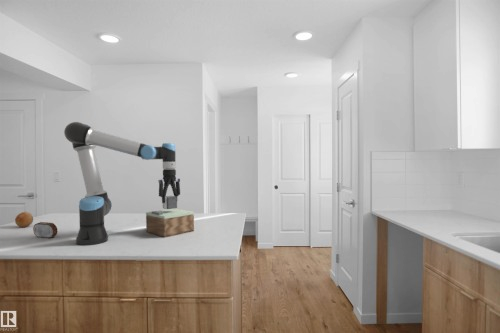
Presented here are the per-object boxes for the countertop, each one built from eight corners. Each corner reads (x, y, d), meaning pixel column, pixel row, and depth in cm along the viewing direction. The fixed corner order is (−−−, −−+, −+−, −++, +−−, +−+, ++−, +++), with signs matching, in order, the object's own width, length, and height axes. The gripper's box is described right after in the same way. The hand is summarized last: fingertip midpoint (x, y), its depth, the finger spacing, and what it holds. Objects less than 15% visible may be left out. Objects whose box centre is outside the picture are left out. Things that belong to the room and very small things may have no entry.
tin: (58, 237, 175) (57, 222, 175) (53, 238, 172) (52, 223, 172) (37, 236, 179) (37, 221, 179) (32, 237, 176) (31, 222, 176)
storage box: (164, 237, 172) (164, 219, 172) (146, 232, 186) (146, 215, 186) (193, 231, 187) (193, 214, 187) (175, 226, 201) (174, 211, 200)
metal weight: (168, 209, 182) (168, 197, 182) (162, 208, 186) (162, 196, 186) (177, 208, 186) (176, 196, 186) (171, 207, 190) (171, 195, 190)
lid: (164, 219, 172) (164, 214, 172) (145, 215, 186) (145, 210, 186) (193, 214, 187) (193, 209, 187) (174, 210, 200) (174, 206, 200)
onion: (17, 226, 207) (16, 211, 207) (34, 224, 212) (34, 210, 211) (13, 229, 199) (12, 213, 198) (31, 227, 203) (31, 212, 203)
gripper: (158, 169, 176) (159, 210, 177) (186, 168, 190) (186, 206, 191) (151, 169, 181) (152, 209, 182) (179, 168, 195) (179, 205, 196)
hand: (170, 207), depth 186 cm, fingers closed on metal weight, 6 cm apart
